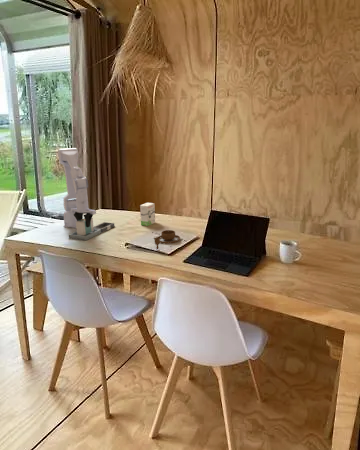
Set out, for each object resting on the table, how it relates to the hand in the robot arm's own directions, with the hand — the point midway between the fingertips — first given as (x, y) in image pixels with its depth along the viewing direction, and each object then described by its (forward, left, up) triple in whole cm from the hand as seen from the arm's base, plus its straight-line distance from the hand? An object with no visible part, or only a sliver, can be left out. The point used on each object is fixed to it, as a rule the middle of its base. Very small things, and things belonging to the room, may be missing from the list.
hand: (84, 226), depth 193 cm
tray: (0, 0, -5) cm, 5 cm away
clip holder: (+2, +14, -5) cm, 15 cm away
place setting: (+43, +5, -6) cm, 44 cm away
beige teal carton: (0, 0, -3) cm, 4 cm away
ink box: (+21, +31, -5) cm, 38 cm away
